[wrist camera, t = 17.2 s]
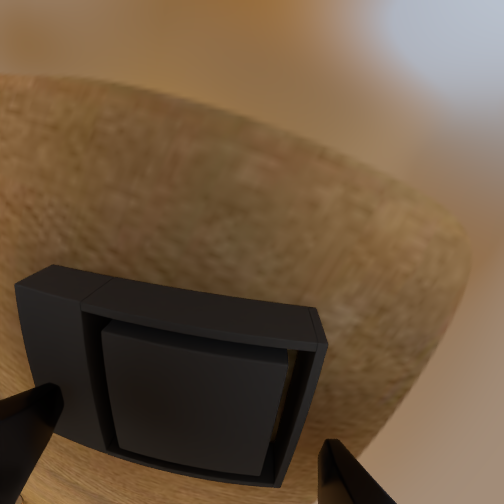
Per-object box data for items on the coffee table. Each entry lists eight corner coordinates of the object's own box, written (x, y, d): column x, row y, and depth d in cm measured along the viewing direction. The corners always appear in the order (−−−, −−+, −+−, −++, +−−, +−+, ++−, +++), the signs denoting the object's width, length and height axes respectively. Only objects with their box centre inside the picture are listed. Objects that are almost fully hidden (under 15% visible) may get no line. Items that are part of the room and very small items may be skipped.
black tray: (316, 307, 11) (328, 344, 8) (279, 446, 12) (280, 488, 10) (52, 263, 11) (13, 283, 8) (73, 400, 12) (50, 431, 10)
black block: (285, 324, 11) (288, 364, 8) (262, 433, 12) (260, 476, 10) (131, 300, 11) (99, 331, 8) (138, 411, 12) (118, 448, 10)
